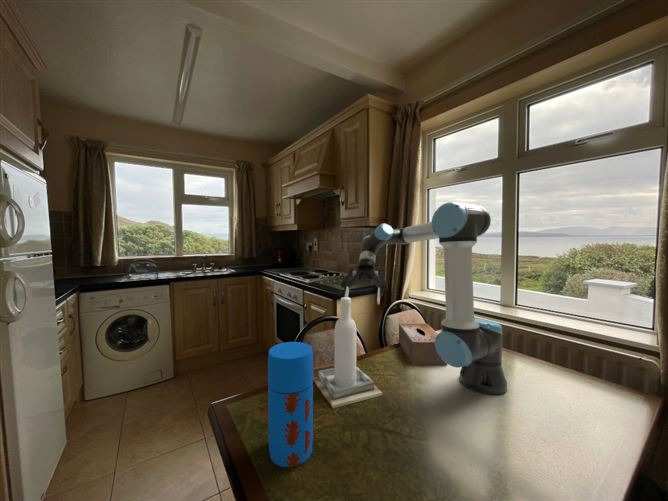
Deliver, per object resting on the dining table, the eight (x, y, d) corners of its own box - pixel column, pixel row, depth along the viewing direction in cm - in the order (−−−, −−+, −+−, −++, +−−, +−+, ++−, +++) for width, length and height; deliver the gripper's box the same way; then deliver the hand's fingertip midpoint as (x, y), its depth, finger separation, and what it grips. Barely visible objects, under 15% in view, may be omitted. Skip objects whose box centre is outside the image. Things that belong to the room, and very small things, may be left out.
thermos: (272, 435, 71) (271, 342, 70) (312, 432, 72) (312, 340, 71) (265, 469, 60) (264, 360, 59) (312, 466, 61) (312, 358, 60)
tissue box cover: (398, 342, 138) (398, 323, 138) (426, 342, 138) (427, 323, 137) (412, 365, 112) (412, 342, 112) (447, 365, 112) (447, 342, 112)
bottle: (359, 385, 93) (360, 299, 92) (338, 389, 90) (338, 301, 89) (351, 374, 100) (352, 295, 99) (331, 377, 98) (331, 296, 97)
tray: (382, 395, 90) (382, 383, 90) (332, 408, 83) (332, 395, 82) (354, 369, 108) (354, 359, 108) (312, 378, 101) (312, 367, 101)
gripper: (394, 268, 124) (392, 308, 110) (342, 267, 131) (334, 305, 116) (394, 257, 119) (392, 298, 104) (339, 257, 125) (330, 295, 111)
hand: (361, 301), depth 110 cm, fingers open, 13 cm apart
